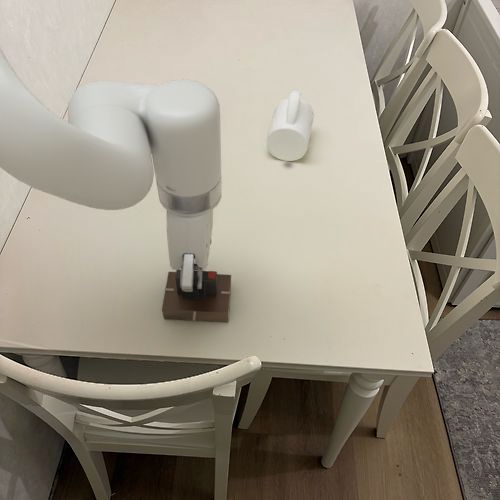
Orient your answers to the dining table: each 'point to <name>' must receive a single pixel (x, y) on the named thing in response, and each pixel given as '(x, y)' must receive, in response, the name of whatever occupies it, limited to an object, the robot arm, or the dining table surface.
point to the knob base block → (197, 302)
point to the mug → (290, 128)
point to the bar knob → (207, 277)
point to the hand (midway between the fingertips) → (197, 269)
